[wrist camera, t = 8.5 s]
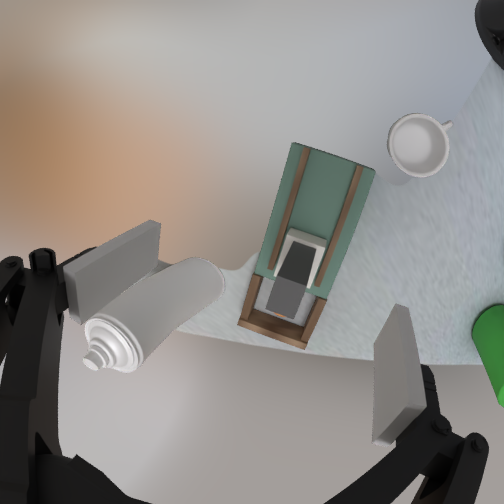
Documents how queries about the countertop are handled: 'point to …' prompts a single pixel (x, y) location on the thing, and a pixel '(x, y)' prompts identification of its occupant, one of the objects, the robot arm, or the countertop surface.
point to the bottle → (492, 347)
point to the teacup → (419, 144)
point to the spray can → (150, 314)
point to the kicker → (295, 271)
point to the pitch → (317, 208)
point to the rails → (290, 207)
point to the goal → (277, 319)
